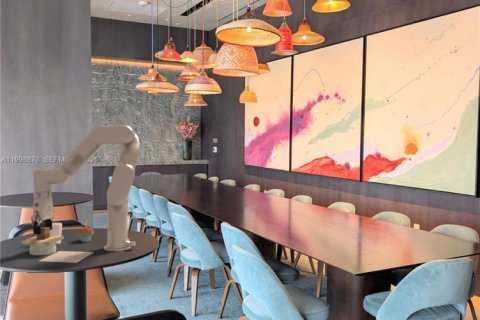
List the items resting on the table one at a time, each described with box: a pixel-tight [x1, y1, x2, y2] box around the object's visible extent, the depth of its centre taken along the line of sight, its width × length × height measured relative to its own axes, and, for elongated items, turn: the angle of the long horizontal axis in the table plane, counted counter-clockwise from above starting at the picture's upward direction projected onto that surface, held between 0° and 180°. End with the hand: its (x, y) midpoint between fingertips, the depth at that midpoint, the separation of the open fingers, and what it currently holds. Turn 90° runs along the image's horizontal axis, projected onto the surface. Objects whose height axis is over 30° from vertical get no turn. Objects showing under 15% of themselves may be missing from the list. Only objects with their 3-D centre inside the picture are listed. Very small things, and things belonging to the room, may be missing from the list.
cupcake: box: [76, 219, 95, 243], centre depth 219 cm, size 9×8×12 cm
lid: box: [20, 226, 65, 245], centre depth 194 cm, size 13×13×6 cm
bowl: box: [29, 242, 57, 256], centre depth 194 cm, size 11×11×6 cm
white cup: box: [50, 222, 63, 245], centre depth 212 cm, size 8×8×10 cm
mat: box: [39, 250, 95, 264], centre depth 187 cm, size 17×17×1 cm
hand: (43, 231), depth 194 cm, fingers open, 9 cm apart
